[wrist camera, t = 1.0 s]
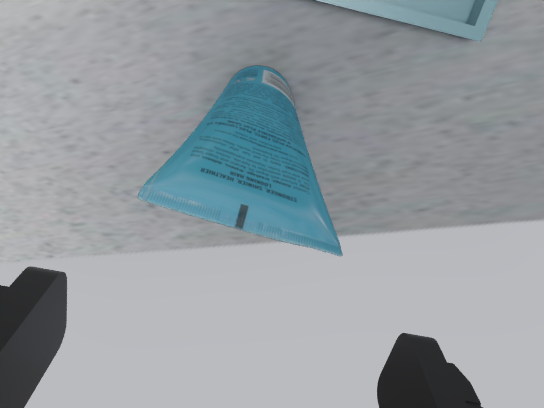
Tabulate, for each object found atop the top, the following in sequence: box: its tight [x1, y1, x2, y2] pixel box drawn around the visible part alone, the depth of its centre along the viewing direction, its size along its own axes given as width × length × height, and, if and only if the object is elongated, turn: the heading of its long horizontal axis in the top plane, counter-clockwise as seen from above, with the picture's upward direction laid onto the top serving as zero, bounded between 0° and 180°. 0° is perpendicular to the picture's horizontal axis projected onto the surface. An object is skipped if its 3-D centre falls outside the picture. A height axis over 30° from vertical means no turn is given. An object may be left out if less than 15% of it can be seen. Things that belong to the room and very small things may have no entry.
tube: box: [138, 66, 342, 256], centre depth 23 cm, size 7×5×19 cm, turn 77°
